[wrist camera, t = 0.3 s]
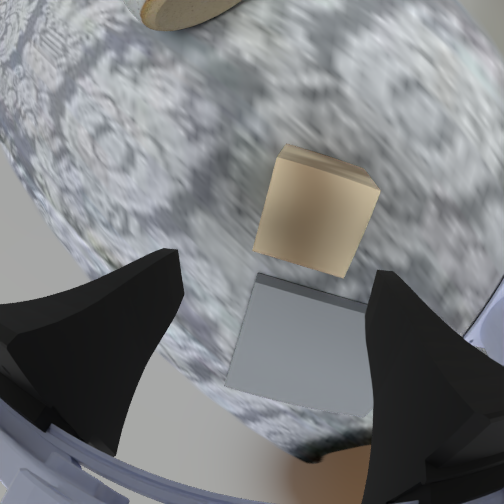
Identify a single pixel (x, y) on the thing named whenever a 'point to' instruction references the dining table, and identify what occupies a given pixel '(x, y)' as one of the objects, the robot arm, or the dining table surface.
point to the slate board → (303, 349)
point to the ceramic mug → (176, 12)
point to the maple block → (315, 211)
